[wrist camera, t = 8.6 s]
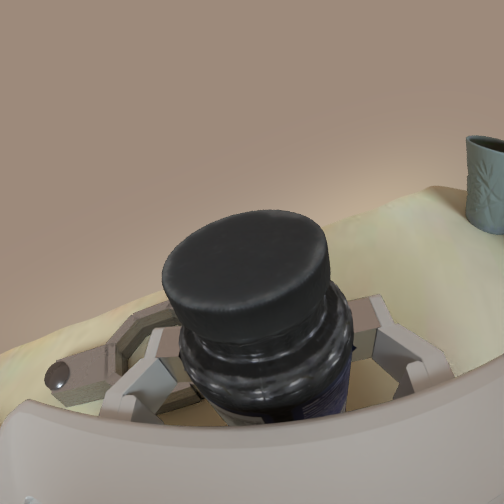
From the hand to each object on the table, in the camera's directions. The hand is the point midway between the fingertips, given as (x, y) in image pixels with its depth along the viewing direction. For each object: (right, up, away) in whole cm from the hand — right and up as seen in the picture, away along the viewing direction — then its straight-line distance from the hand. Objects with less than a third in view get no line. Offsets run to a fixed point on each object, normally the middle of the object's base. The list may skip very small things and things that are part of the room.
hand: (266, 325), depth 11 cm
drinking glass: (+35, +7, +20) cm, 41 cm away
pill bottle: (+2, -6, +3) cm, 7 cm away
